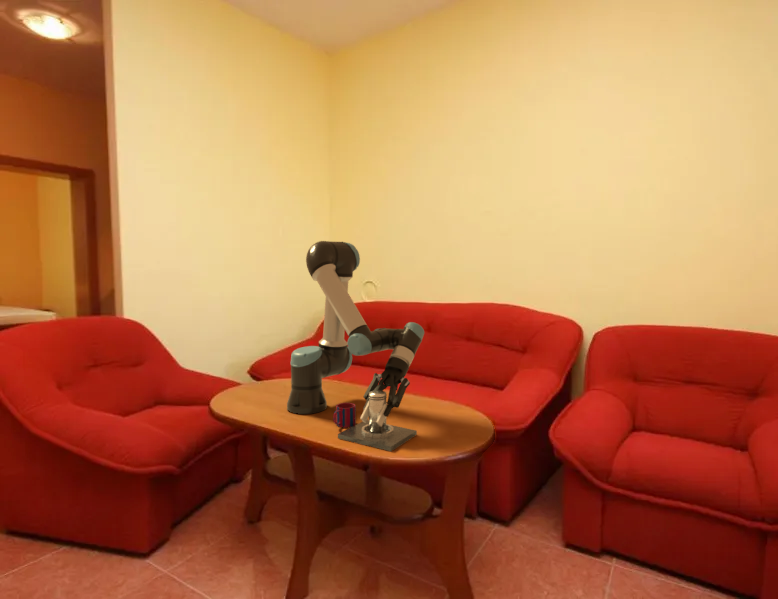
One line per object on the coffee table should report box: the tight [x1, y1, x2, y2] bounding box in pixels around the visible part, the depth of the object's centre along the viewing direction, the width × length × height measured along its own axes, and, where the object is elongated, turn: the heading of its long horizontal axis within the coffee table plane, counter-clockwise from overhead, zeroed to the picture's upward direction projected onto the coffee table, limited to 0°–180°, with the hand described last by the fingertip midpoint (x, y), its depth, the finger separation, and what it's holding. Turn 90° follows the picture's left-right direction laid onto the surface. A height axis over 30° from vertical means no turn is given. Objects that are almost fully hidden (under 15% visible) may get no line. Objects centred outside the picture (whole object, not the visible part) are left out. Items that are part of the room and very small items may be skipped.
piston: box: [368, 390, 388, 432], centre depth 152 cm, size 6×6×12 cm
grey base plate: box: [337, 419, 418, 452], centre depth 152 cm, size 20×16×3 cm
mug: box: [332, 402, 357, 429], centre depth 162 cm, size 7×10×7 cm
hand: (370, 422), depth 149 cm, fingers closed on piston, 6 cm apart
